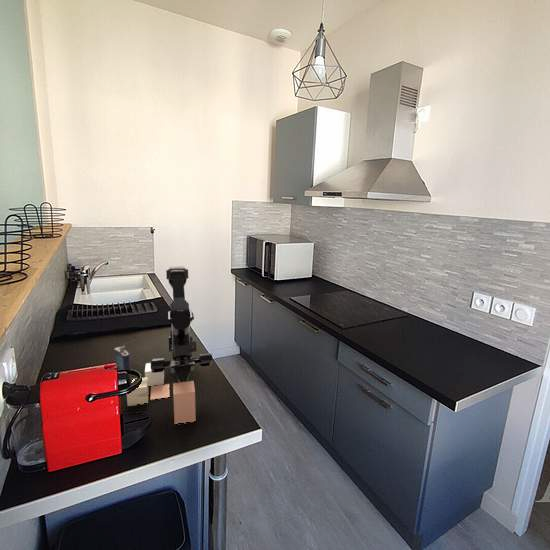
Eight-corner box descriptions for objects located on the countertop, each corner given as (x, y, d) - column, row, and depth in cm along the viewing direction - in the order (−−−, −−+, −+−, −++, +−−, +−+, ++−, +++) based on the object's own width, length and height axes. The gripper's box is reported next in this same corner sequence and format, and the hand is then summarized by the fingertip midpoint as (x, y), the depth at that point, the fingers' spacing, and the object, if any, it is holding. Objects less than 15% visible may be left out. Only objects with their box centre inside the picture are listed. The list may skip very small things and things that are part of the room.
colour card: (151, 387, 115) (151, 386, 115) (169, 384, 117) (169, 383, 117) (150, 400, 108) (150, 399, 108) (169, 397, 110) (169, 396, 109)
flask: (114, 369, 125) (112, 343, 123) (122, 367, 128) (120, 341, 125) (125, 379, 119) (123, 352, 117) (133, 376, 122) (131, 349, 119)
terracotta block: (174, 412, 102) (173, 383, 100) (194, 409, 104) (193, 380, 102) (174, 424, 96) (173, 394, 94) (195, 421, 98) (195, 391, 96)
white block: (146, 378, 121) (145, 363, 119) (164, 376, 122) (163, 361, 121) (145, 387, 115) (144, 371, 114) (163, 385, 117) (163, 369, 116)
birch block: (129, 395, 110) (128, 379, 109) (148, 393, 112) (147, 377, 110) (127, 406, 104) (126, 389, 103) (147, 403, 106) (146, 386, 105)
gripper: (149, 335, 100) (149, 387, 92) (211, 330, 106) (216, 379, 98) (151, 348, 109) (151, 396, 101) (209, 342, 115) (213, 388, 107)
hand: (183, 390), depth 102 cm, fingers closed, pressing on terracotta block
